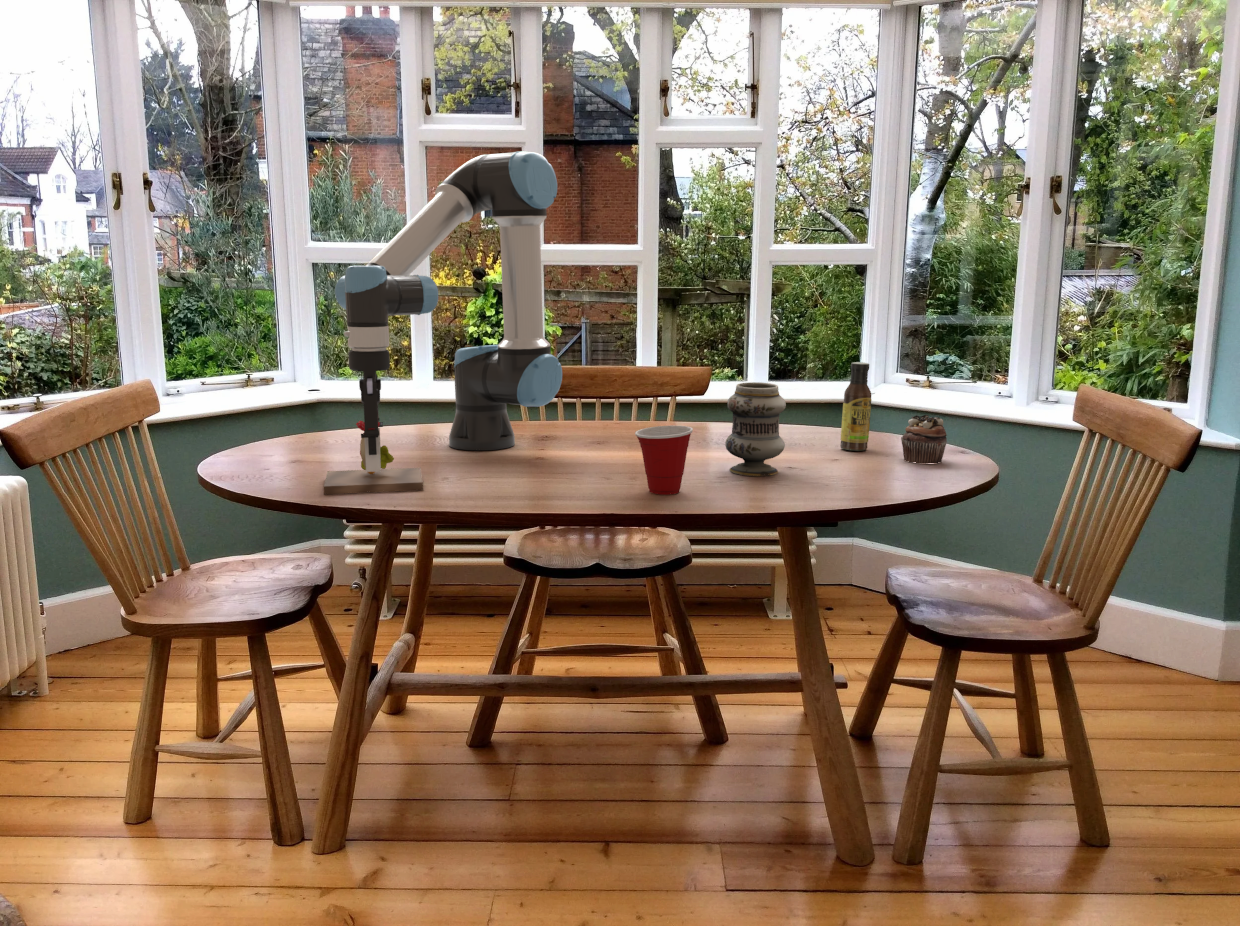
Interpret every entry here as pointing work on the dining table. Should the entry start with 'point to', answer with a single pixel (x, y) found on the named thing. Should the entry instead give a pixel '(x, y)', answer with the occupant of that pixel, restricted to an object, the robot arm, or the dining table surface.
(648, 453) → the plastic cup
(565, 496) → the dining table surface
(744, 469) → the apothecary jar
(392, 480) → the walnut board
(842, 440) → the sauce bottle
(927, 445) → the cupcake
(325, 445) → the dining table surface
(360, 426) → the bird rattle
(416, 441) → the dining table surface
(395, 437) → the dining table surface
